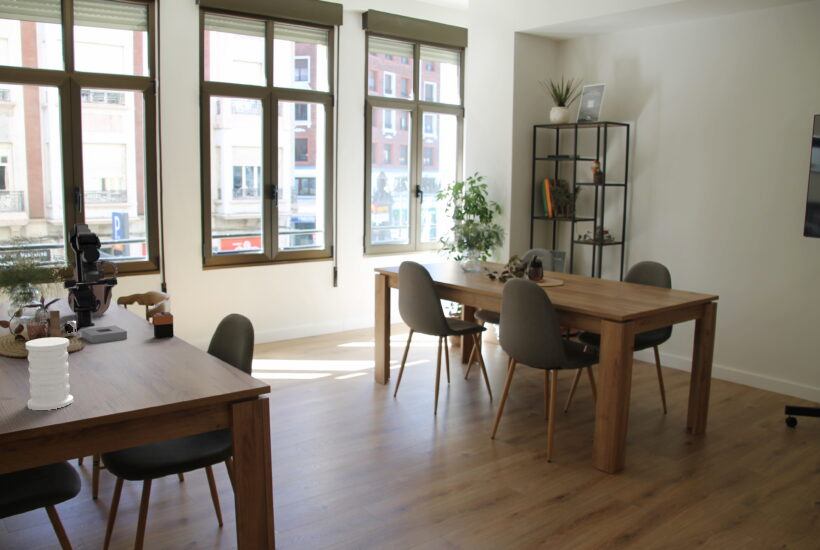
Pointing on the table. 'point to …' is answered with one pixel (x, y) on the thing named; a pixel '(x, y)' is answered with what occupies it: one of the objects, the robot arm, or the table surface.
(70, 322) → the steel pin
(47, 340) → the decorative container
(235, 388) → the table surface
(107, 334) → the hole plate
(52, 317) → the walnut pin
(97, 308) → the ceramic pitcher
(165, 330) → the battery
